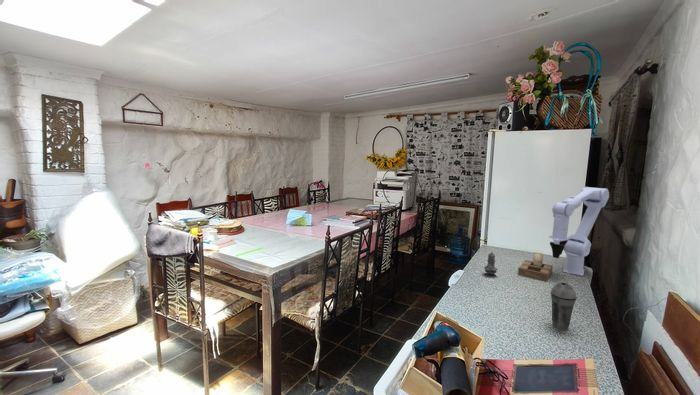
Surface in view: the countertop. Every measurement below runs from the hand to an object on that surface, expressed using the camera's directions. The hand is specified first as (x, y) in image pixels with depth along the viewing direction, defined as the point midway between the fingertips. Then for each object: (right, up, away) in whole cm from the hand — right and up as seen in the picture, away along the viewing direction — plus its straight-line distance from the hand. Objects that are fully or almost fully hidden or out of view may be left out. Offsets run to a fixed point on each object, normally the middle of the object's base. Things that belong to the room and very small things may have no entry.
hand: (557, 255), depth 145 cm
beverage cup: (-27, -17, -41) cm, 52 cm away
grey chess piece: (-30, -10, +3) cm, 32 cm away
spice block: (-7, -10, +5) cm, 13 cm away
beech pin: (-5, -8, +8) cm, 12 cm away
